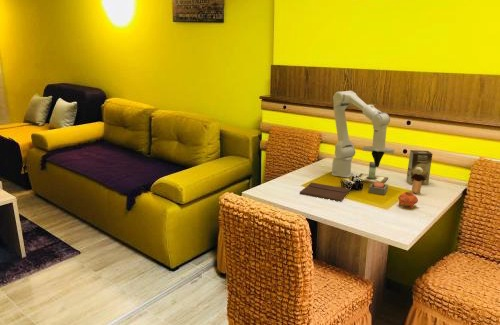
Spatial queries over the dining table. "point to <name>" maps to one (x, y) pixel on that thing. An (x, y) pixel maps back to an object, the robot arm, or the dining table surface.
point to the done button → (378, 184)
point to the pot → (408, 199)
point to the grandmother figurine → (417, 181)
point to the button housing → (378, 189)
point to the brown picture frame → (377, 179)
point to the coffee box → (419, 164)
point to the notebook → (325, 191)
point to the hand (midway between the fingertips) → (377, 166)
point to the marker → (372, 170)
